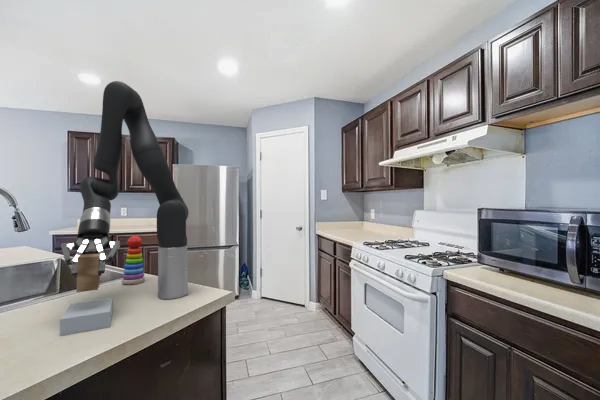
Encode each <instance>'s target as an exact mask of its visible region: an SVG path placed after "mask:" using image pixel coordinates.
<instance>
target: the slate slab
mask: <svg viewBox="0 0 600 400" xmlns="http://www.w3.org/2000/svg"><path fill="white" fill-rule="evenodd" d="M113 312H114V297H109V298H101V299H95V300H87V301H79V302H73V303H69V305H68V306H67V308H66V309H65V311H64V313H63V314H62V316H61V317H60V319H59V336H60V337H61V336H67V335H74V334H78V333H84V332H89V331H95V330H101V329H105V328H110V326H111V322H112V317H113Z"/></svg>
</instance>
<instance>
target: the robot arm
mask: <svg viewBox="0 0 600 400" xmlns="http://www.w3.org/2000/svg"><path fill="white" fill-rule="evenodd" d="M101 113H102V114H101V123H100V133H99V139H98V144H97V148H96V151H95V154H94V160H93V162H92V163H93V164H92V166H93V168H94V169H95V170H97V171H99V172H102V173H104V174H106V176H107V175H108V179H106V178H102V177H96V176H86V177H84V178H83V179H82V181H80V188H79V189H80V194H81V196H82V201H83V209H82V214H81V217H80V220H79V223H78V224H79V225H78V230H77V235H76V239H75V240H74V242H72V243H66V242H62V243H61V245H60V246H61V251H62V254H63V257H64V258H63V259H64V263H65V265H66V266H71V270H70V273H71V277H73V278H74V279H77V258H78V256H79V255H83V254H100V261H99V268H98V276H100V277H101V276H102V274H103V275H104V274H105V272H106V264H107V263H113V262H114V261H115V259H116V256H117V255H118V253H119V251H120V248H121V241H120V240H116V241H111V240H110V230H111V229H110V228H111V207H112V204H111V201H113V200H115V199H116V198H117V197H118V195H119V181H118V180H119V179H118V177H119V175H118V174H119V173H118V172H119V166H120V161H121V158H122V155H123V132H122V131H123V122H124V123H125V125H126V127H127V129H128V132H129V138H130V149H131V154H132V157H133V159H134V161H135V163H136V165H137V167H138V169H139V171H140V173H141V174H142V176H143V178H144V179H145V180H146V182H147V183H148V184H149V186H150V188H151V189H152V190H153V193H154V194H155V196H156V198H157V201H158V203H159V204H158V205H159V206H158V209H157V210H156V211H157V212H156V238H157V242H158V247H157V251H158V254H157V298H158V299H162V300H171V299H172V300H174V299H177V298H178V299H179V298H182V297H184V296H188V294H189V292H188V291H189V267H188V237H187V219H188V218H189V215H190V214H189V213H190V212H189V208H188V206H187V204H186V202H185V201H184V199H183V197H182V196H181V194H180V192H179V190H178V189H177V188H178V187H176V184H175V181H174V178H173V175H172V172H171V169H170V167H169V166H170V165H169V163H168V161H167V158H166V156H165V154H164V152H163V149H162V147H161V144H160V142H159V141H158V138H157V136H156V134H155V133H154V131H153V128H152V127H151V124H150V121H149V118H148V115H147V112H146V109H145V105H144V102H143V99H142V97H141V96H140V94H139V93H138V92H137V91H136V90H135V89H133V88H132V87H131V86H130V85H128V84H126V83H125V82H123V81H120V80H117V81H116V80H114V81H111V82H109V83H107V85H106V86H105V87H104V90H103V93H102V111H101ZM108 247H110V249H111V250H110V251H109V253H108V255H105V250H107V248H108ZM73 249H76V250H77V251H76V254H75V256H74V257H71V254H70V253H71V252H72V251H73Z"/></svg>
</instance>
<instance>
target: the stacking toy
mask: <svg viewBox="0 0 600 400" xmlns="http://www.w3.org/2000/svg"><path fill="white" fill-rule="evenodd" d="M142 243H143V240H142V238H141V237H140V236H138V235H133V236H130V237H129V238H128V239H127V246H128V249H126V252H127V254H126V255H125V256H126V259H125V264H124V266H123V268H124V269H123V274H122V280H121V283H122V284H123V285H126V284H127V285H128V286H131V284H133V285H137V284H141V283H143V282H145V272H144V270H145V269H144V267H143V266H144V263H143V261H144V259H143V253H142V248H141V245H143V244H142Z"/></svg>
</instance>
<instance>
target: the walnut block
mask: <svg viewBox="0 0 600 400" xmlns="http://www.w3.org/2000/svg"><path fill="white" fill-rule="evenodd" d="M99 261H100V254H83V255H79V256H78V258H77V278H76V293H83V292H90V291H98V290H99V288H100V283H101V276H98V268H99Z"/></svg>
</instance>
